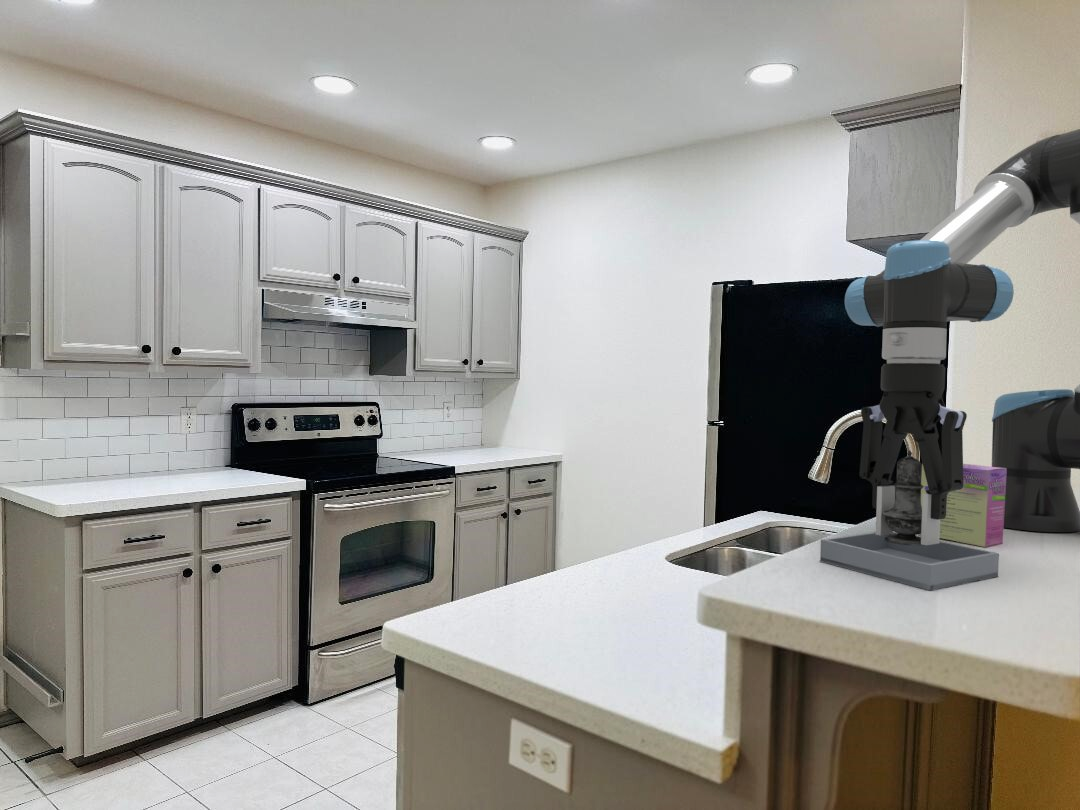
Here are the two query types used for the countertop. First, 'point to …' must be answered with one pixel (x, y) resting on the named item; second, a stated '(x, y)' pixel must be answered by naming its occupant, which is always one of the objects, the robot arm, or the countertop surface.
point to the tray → (910, 560)
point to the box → (975, 507)
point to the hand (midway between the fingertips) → (906, 538)
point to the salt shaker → (906, 504)
